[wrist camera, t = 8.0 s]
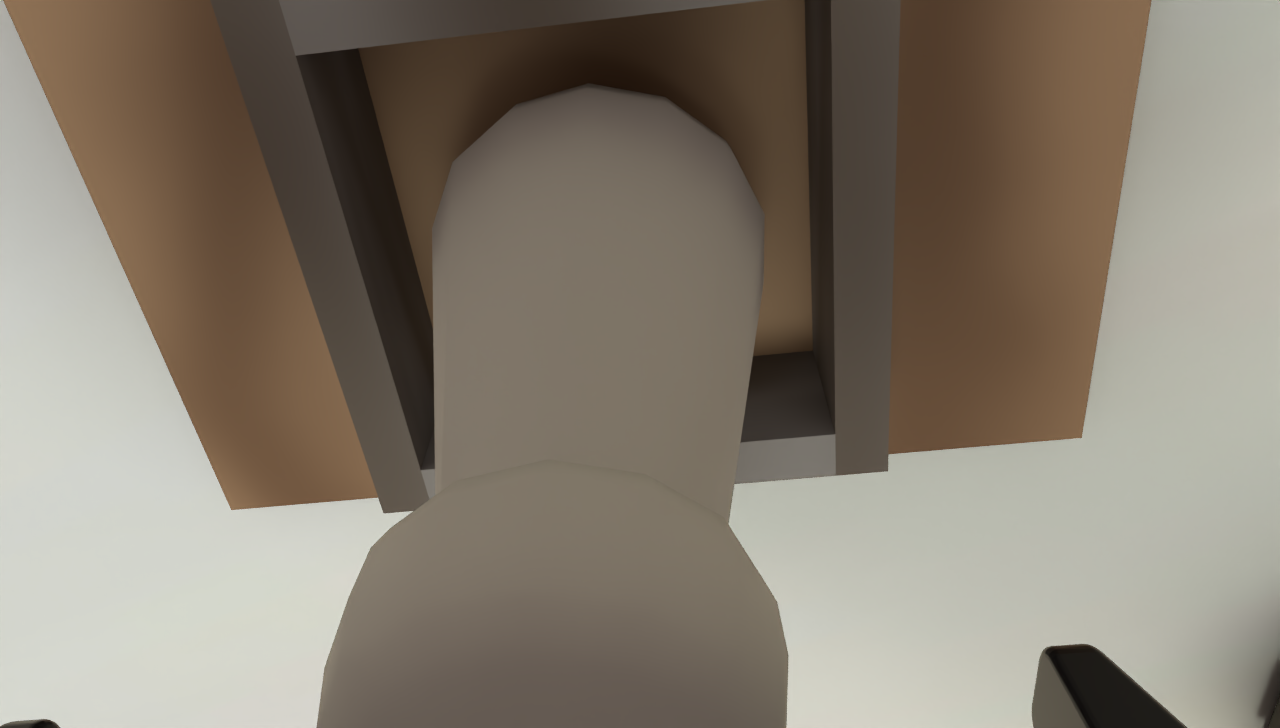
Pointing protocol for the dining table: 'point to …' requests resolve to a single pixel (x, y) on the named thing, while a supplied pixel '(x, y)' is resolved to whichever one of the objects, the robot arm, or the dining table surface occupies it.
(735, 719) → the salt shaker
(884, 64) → the brown tray
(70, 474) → the dining table surface
